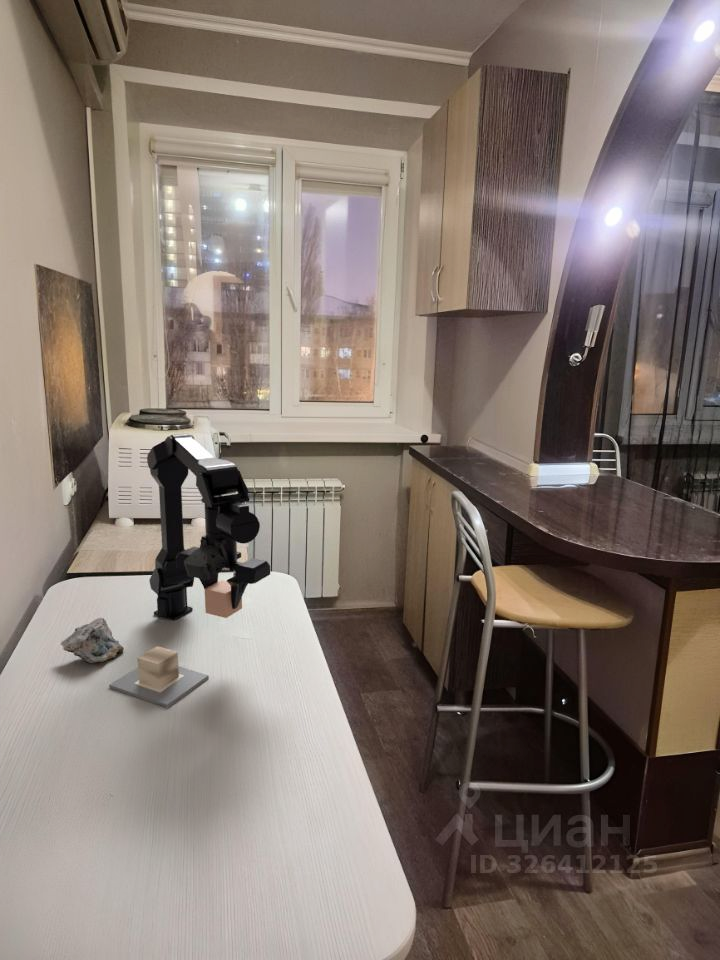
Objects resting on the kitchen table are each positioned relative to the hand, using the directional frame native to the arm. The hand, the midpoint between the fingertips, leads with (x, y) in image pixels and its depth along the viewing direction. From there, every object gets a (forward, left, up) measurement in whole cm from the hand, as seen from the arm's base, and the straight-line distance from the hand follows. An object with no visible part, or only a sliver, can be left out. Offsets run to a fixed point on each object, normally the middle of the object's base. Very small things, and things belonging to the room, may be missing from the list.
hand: (223, 605), depth 123 cm
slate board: (+12, -6, -12) cm, 18 cm away
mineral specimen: (+11, -25, -12) cm, 30 cm away
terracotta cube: (0, 0, -1) cm, 1 cm away
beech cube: (+12, -6, -11) cm, 18 cm away
